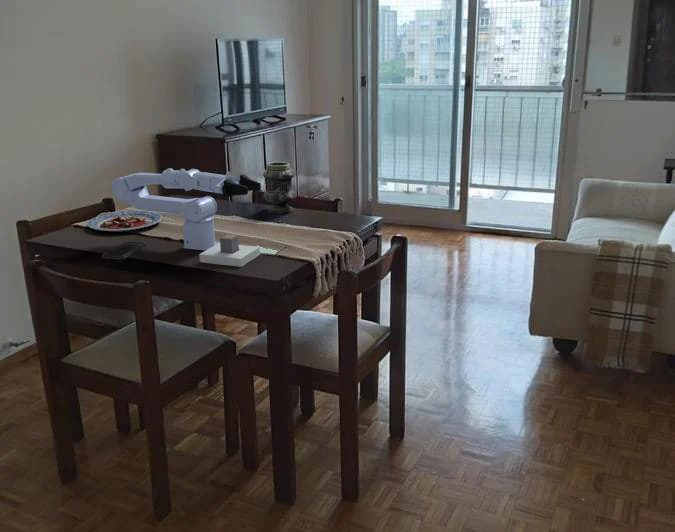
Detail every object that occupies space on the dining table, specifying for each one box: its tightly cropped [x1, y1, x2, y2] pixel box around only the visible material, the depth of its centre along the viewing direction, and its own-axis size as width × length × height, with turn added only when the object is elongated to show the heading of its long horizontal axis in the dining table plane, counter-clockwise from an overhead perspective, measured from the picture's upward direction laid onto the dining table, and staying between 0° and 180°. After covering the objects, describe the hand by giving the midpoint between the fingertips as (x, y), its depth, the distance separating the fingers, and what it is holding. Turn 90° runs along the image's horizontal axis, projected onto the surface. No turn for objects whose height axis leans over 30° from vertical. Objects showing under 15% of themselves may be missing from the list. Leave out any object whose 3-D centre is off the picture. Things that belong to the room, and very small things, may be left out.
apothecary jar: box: [262, 161, 296, 214], centre depth 264 cm, size 12×12×18 cm
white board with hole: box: [199, 243, 261, 268], centre depth 212 cm, size 14×12×2 cm
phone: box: [101, 241, 146, 260], centre depth 221 cm, size 8×1×15 cm
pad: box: [255, 245, 281, 256], centre depth 220 cm, size 9×9×1 cm
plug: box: [219, 234, 240, 254], centre depth 211 cm, size 4×4×7 cm
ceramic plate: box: [86, 210, 163, 233], centre depth 250 cm, size 26×26×3 cm
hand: (253, 188), depth 210 cm, fingers open, 7 cm apart
